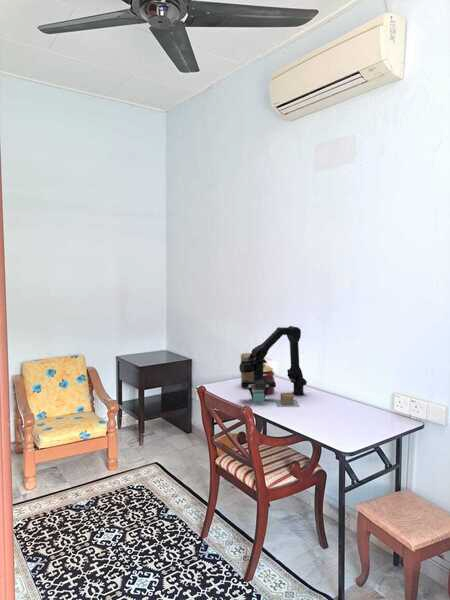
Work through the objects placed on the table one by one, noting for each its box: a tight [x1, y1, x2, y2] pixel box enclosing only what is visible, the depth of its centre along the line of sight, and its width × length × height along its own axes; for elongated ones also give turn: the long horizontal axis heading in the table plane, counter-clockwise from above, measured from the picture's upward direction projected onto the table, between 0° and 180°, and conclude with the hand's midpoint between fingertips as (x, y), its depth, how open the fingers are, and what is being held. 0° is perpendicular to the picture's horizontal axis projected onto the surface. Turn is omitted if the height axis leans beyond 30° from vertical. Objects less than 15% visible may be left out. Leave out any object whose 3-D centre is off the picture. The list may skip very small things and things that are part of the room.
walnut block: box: [280, 391, 294, 405], centre depth 236 cm, size 6×6×5 cm
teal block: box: [252, 390, 265, 403], centre depth 242 cm, size 6×6×5 cm
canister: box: [252, 363, 275, 396], centre depth 257 cm, size 13×13×18 cm
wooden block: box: [240, 352, 256, 390], centre depth 269 cm, size 10×10×20 cm
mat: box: [274, 399, 301, 408], centre depth 236 cm, size 12×12×1 cm
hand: (258, 398), depth 242 cm, fingers closed on teal block, 6 cm apart
